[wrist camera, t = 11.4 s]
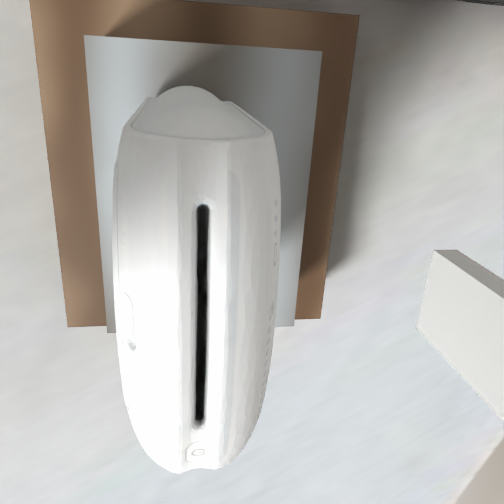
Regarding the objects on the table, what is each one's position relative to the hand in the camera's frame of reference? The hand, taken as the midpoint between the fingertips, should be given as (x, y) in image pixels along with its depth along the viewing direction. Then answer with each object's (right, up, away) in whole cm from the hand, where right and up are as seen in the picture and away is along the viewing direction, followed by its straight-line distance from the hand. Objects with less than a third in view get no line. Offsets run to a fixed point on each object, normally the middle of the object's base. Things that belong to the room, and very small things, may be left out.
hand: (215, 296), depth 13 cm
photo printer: (-2, +4, +9) cm, 10 cm away
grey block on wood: (-2, +7, +16) cm, 18 cm away
